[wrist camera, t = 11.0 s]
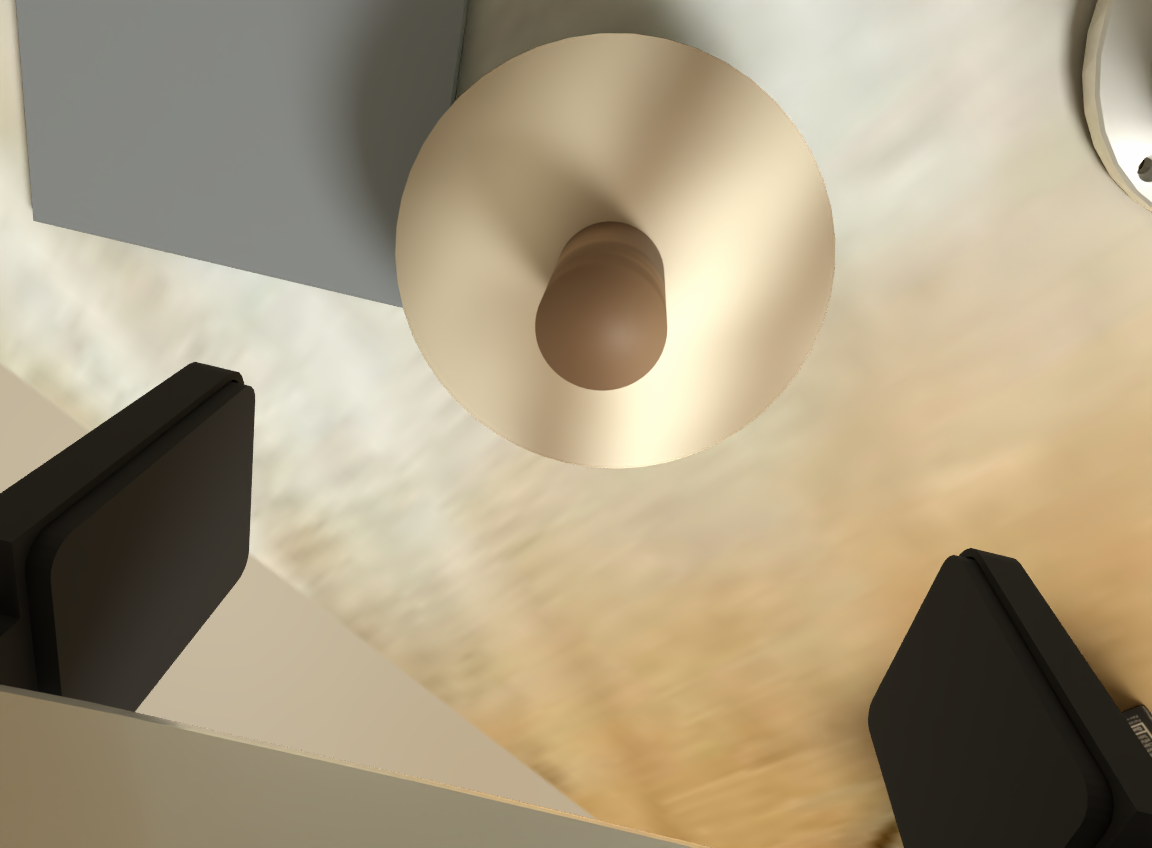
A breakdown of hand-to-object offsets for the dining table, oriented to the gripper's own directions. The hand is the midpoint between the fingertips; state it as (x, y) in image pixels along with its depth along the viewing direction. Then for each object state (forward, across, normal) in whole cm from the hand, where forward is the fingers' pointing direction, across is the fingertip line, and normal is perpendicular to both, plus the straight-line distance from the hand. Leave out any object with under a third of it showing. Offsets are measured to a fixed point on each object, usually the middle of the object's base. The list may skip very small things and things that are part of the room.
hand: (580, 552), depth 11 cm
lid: (+16, 0, 0) cm, 16 cm away
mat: (+20, +15, -3) cm, 25 cm away
